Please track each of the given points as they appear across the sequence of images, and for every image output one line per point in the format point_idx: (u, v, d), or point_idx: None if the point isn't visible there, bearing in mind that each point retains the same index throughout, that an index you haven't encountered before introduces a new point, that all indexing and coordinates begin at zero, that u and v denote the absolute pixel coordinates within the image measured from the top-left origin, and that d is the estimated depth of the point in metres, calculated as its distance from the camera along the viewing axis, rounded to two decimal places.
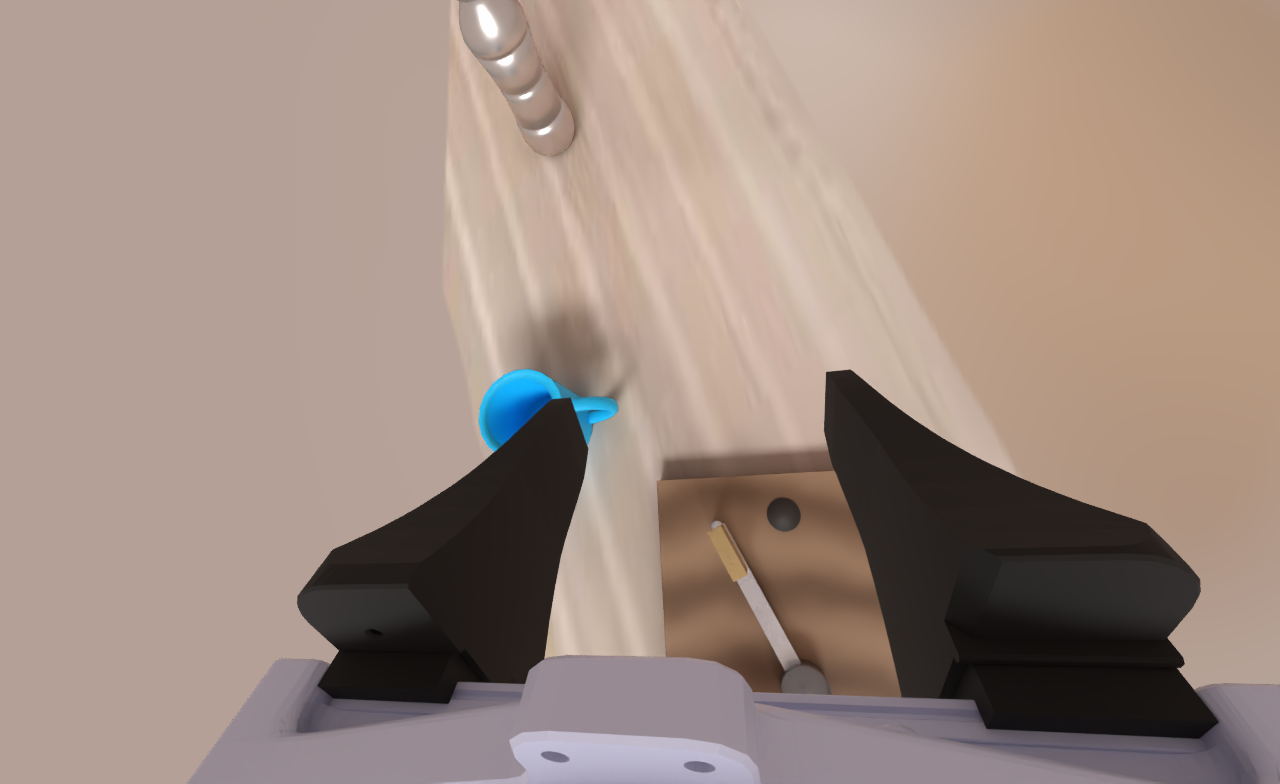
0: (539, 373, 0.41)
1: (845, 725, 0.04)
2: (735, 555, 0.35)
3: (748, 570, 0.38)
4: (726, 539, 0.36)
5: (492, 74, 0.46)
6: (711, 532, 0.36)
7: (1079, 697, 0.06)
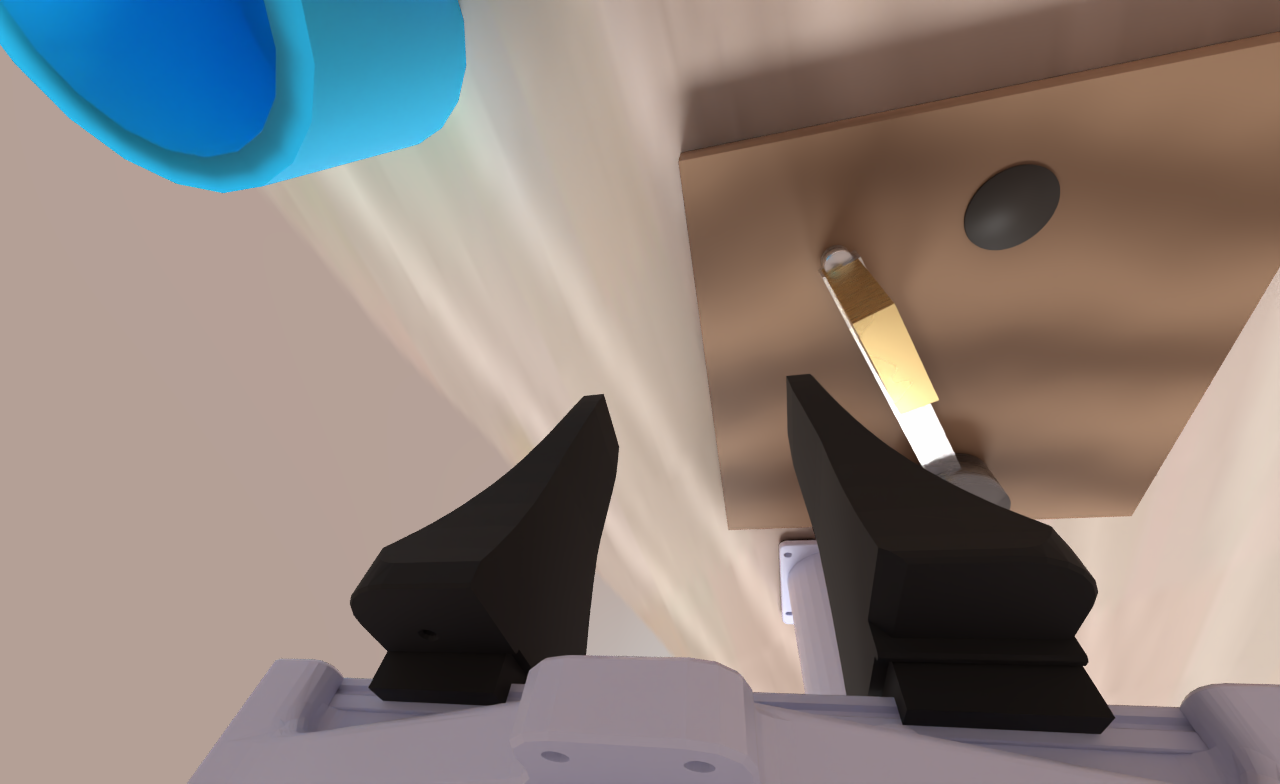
0: None
1: (845, 725, 0.04)
2: (918, 364, 0.14)
3: None
4: (903, 333, 0.14)
5: None
6: (864, 321, 0.14)
7: (988, 694, 0.06)
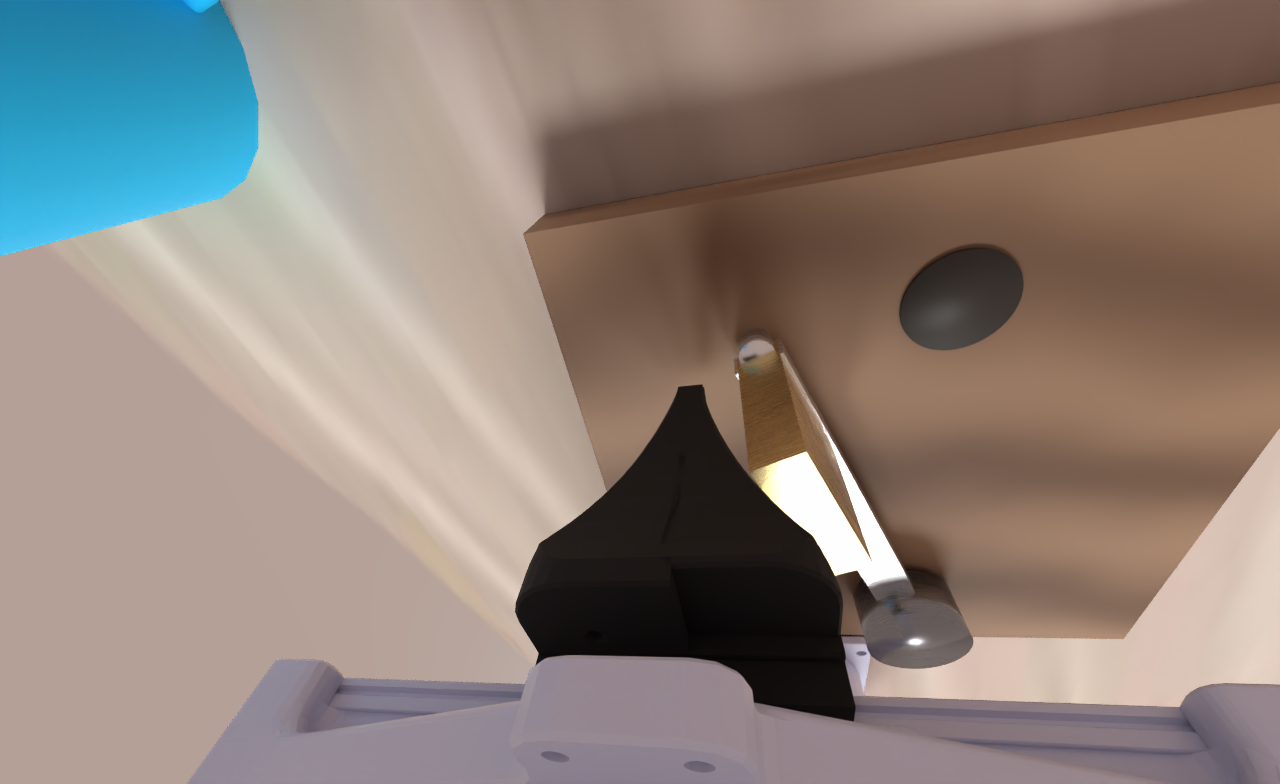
0: None
1: (845, 725, 0.04)
2: (844, 524, 0.10)
3: (837, 459, 0.14)
4: (821, 488, 0.09)
5: None
6: (766, 469, 0.09)
7: (757, 687, 0.06)
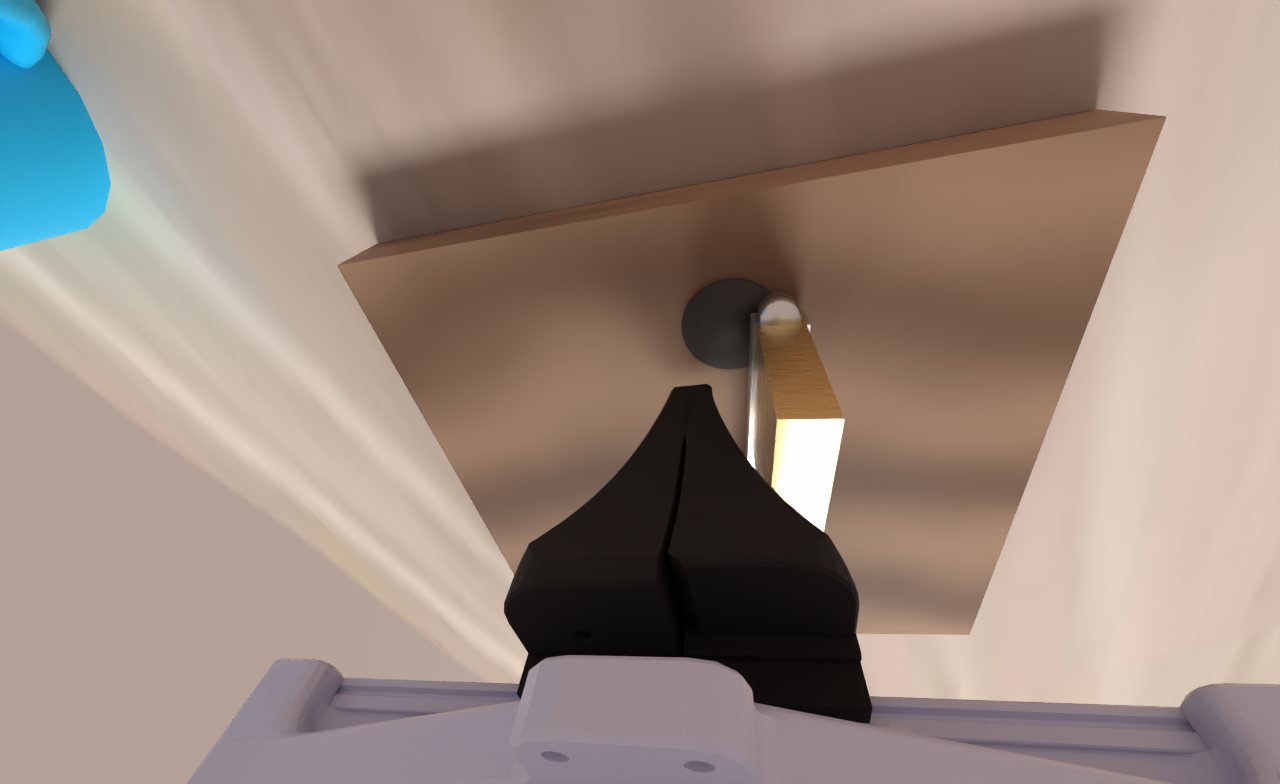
0: None
1: (845, 725, 0.04)
2: (822, 506, 0.10)
3: None
4: (830, 461, 0.09)
5: None
6: (793, 423, 0.09)
7: (772, 687, 0.06)
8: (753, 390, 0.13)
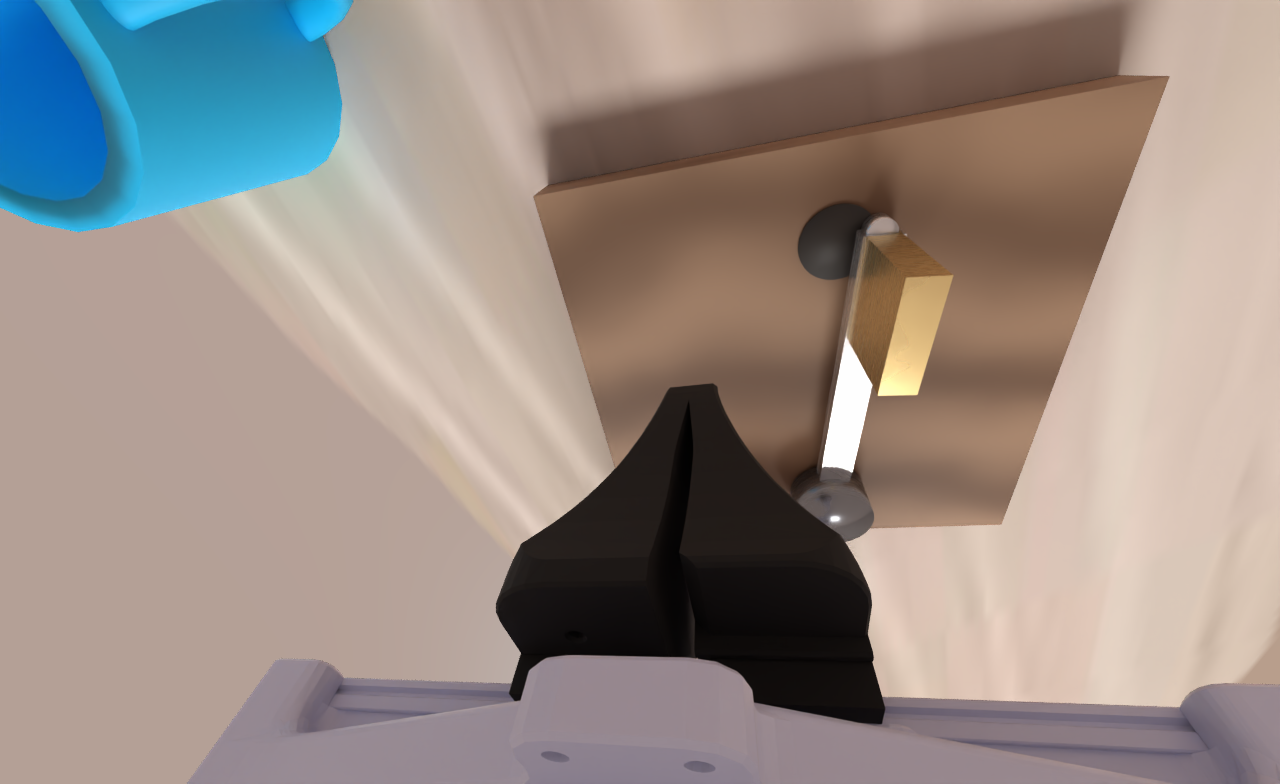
0: None
1: (845, 725, 0.04)
2: (926, 351, 0.14)
3: None
4: (937, 311, 0.13)
5: None
6: (917, 280, 0.13)
7: (783, 687, 0.06)
8: (855, 290, 0.17)
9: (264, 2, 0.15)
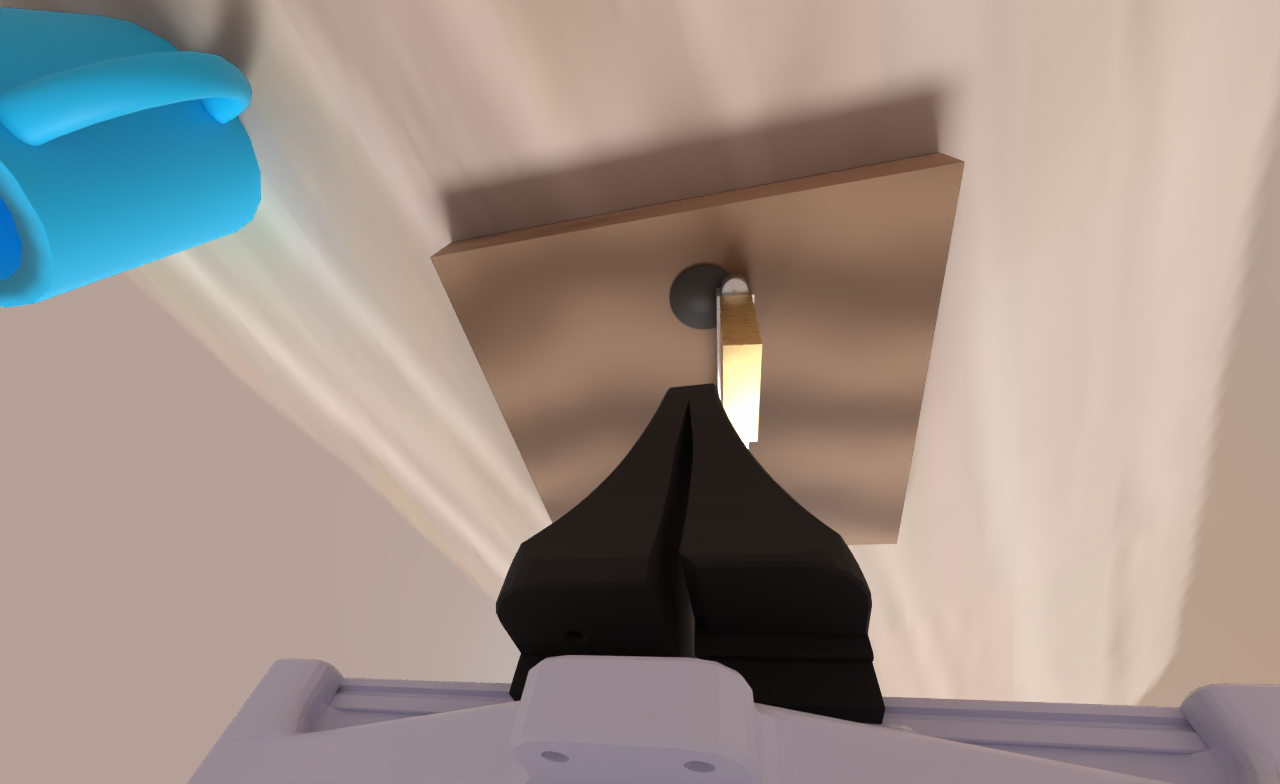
0: None
1: (845, 725, 0.04)
2: (756, 405, 0.16)
3: None
4: (757, 373, 0.15)
5: None
6: (733, 348, 0.14)
7: (783, 687, 0.06)
8: (719, 341, 0.19)
9: None
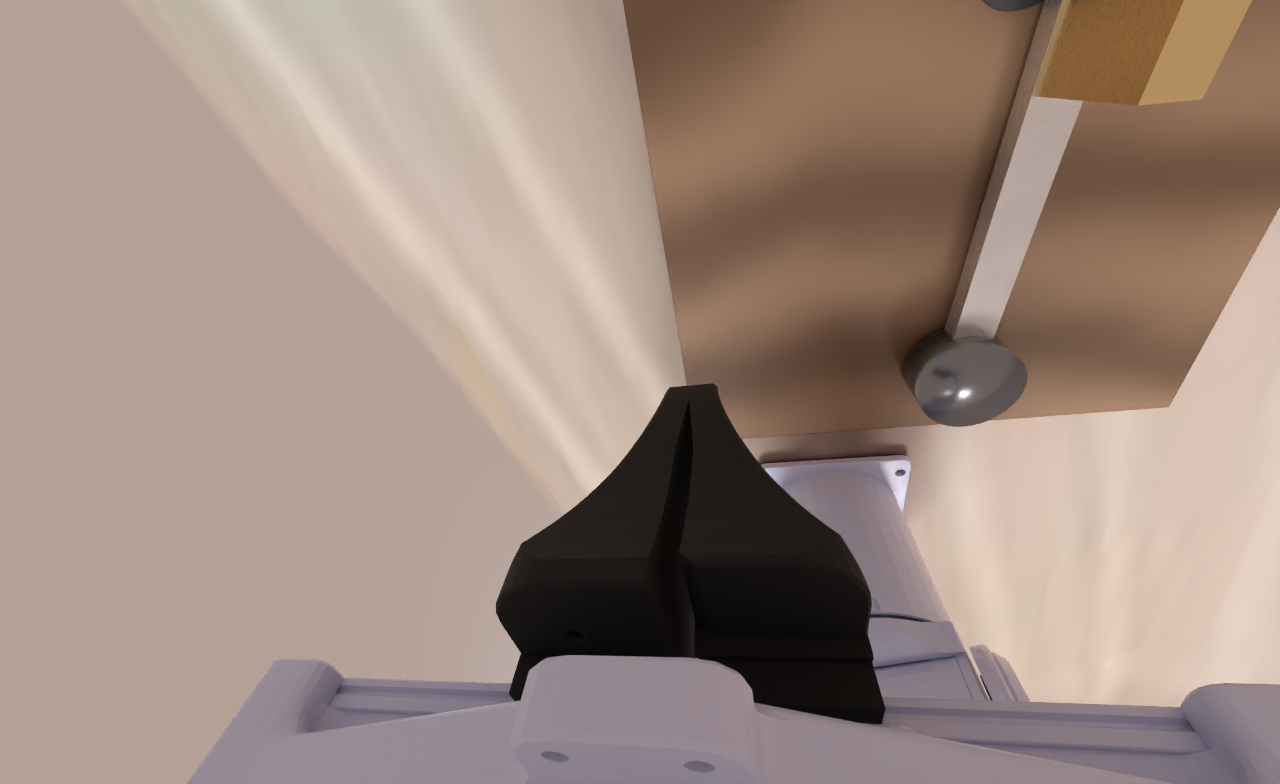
0: None
1: (845, 724, 0.04)
2: (1243, 3, 0.09)
3: (1079, 100, 0.13)
4: None
5: None
6: None
7: (783, 687, 0.06)
8: (1063, 4, 0.12)
9: None
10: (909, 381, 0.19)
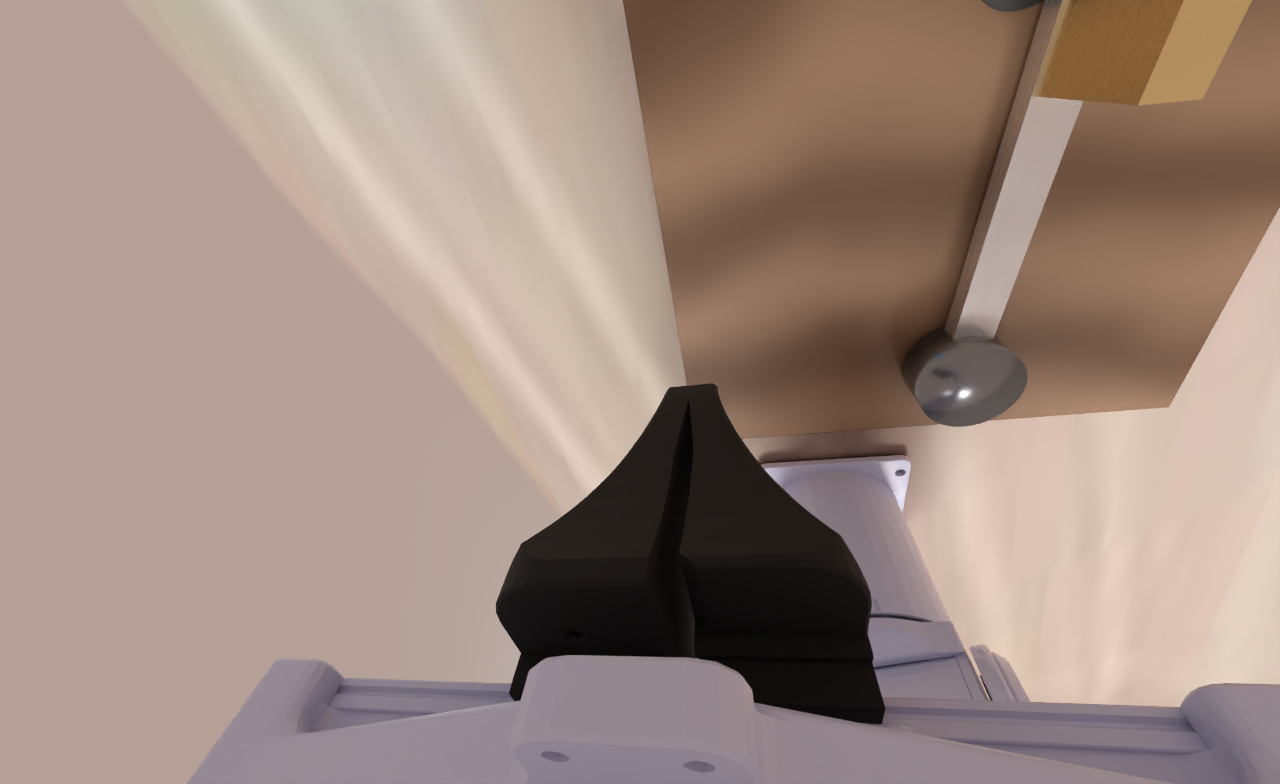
0: None
1: (845, 724, 0.04)
2: (1243, 3, 0.09)
3: (1079, 100, 0.13)
4: None
5: None
6: None
7: (783, 687, 0.06)
8: (1063, 4, 0.12)
9: None
10: (909, 381, 0.19)
